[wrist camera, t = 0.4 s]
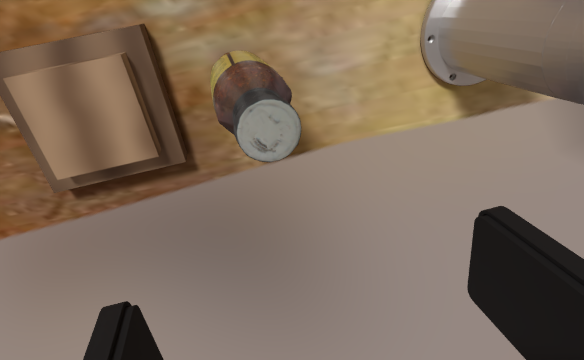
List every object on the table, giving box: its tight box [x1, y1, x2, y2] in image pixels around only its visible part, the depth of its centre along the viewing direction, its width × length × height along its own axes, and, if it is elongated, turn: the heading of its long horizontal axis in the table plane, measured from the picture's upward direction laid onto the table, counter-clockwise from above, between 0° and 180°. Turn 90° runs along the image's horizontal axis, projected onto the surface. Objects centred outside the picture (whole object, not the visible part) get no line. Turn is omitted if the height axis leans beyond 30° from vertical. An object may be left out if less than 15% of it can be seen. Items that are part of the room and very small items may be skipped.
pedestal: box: [0, 24, 187, 193], centre depth 36 cm, size 14×14×4 cm
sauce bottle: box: [210, 51, 301, 162], centre depth 30 cm, size 7×6×20 cm
